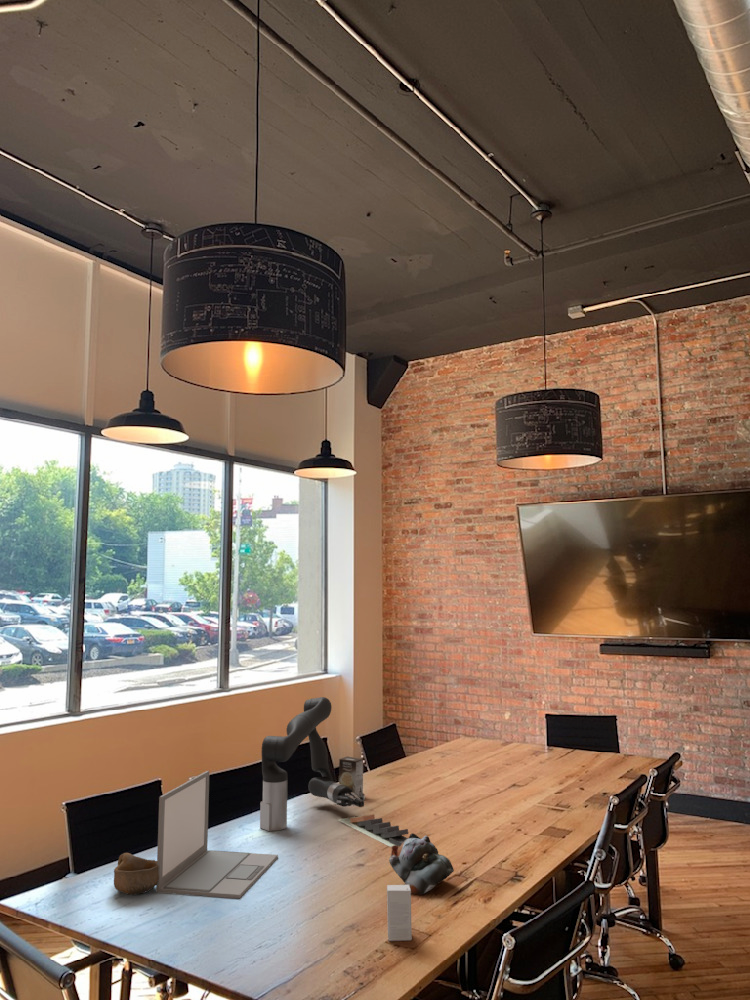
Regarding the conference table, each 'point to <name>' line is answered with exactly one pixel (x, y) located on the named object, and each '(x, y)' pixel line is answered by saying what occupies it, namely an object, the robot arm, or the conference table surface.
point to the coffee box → (351, 773)
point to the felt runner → (366, 831)
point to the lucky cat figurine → (419, 864)
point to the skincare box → (399, 912)
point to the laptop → (199, 848)
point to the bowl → (135, 874)
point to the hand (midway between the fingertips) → (362, 804)
